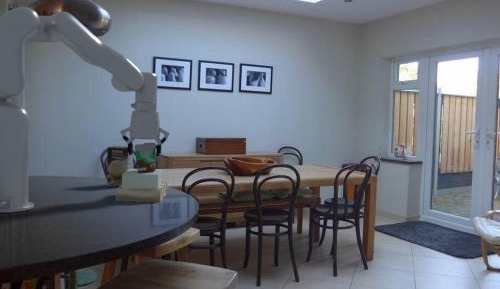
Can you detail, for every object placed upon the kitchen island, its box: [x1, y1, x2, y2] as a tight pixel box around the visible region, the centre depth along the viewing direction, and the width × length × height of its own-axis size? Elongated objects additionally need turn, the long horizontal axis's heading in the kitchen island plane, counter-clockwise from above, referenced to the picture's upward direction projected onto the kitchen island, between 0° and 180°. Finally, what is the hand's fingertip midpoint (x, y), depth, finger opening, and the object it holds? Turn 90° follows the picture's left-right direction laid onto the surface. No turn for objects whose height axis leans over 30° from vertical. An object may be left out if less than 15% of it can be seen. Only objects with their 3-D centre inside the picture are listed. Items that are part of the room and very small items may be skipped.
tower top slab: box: [122, 168, 163, 189], centre depth 158 cm, size 16×12×5 cm
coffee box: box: [106, 146, 134, 187], centre depth 183 cm, size 9×6×16 cm
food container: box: [134, 142, 157, 173], centre depth 158 cm, size 12×6×10 cm, turn 178°
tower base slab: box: [114, 181, 168, 203], centre depth 159 cm, size 17×15×5 cm
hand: (144, 155), depth 158 cm, fingers open, 9 cm apart
